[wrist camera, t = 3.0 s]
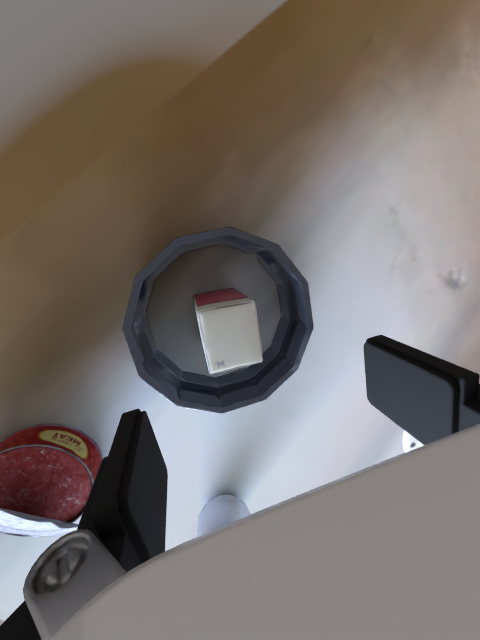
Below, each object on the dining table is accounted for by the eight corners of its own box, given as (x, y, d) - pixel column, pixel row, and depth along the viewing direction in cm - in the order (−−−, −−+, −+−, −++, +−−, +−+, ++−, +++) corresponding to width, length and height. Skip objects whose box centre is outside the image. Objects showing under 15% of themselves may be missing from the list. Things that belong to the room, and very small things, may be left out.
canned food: (115, 439, 32) (125, 533, 25) (26, 482, 30) (11, 598, 23) (59, 391, 24) (52, 509, 17) (-68, 445, 22) (-133, 604, 15)
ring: (276, 220, 25) (298, 212, 21) (298, 361, 30) (320, 382, 25) (112, 253, 23) (95, 253, 18) (162, 402, 27) (159, 433, 23)
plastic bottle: (230, 476, 32) (307, 810, 13) (256, 509, 34) (355, 837, 15) (184, 507, 31) (191, 898, 12) (213, 538, 33) (258, 913, 14)
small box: (241, 333, 28) (265, 363, 20) (201, 342, 27) (209, 377, 19) (234, 286, 26) (256, 299, 19) (191, 294, 25) (196, 311, 18)
